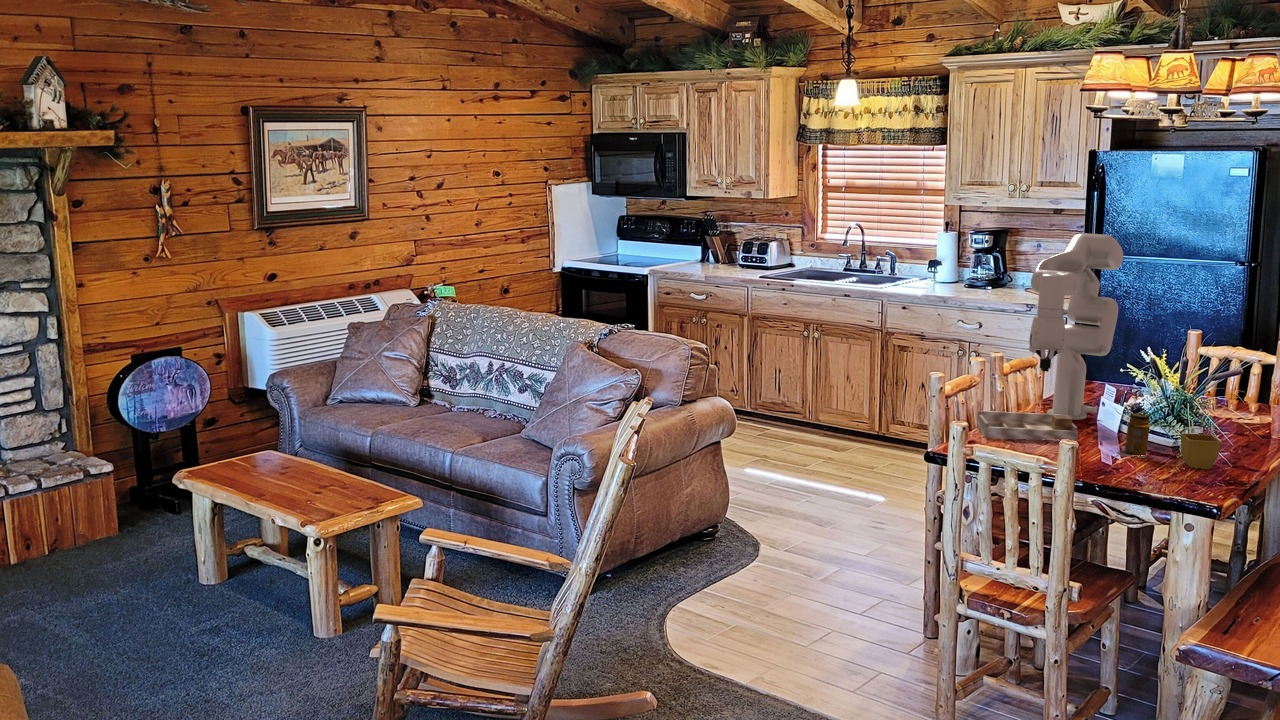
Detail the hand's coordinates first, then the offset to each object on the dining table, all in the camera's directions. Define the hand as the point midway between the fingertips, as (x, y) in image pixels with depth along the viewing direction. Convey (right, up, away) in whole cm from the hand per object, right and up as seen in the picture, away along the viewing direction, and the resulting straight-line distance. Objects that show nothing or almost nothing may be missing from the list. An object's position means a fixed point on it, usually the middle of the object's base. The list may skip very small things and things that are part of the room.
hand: (1044, 370), depth 355 cm
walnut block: (+6, -19, +2) cm, 20 cm away
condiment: (+21, -25, -15) cm, 36 cm away
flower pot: (+34, -28, -28) cm, 52 cm away
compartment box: (-5, -20, +4) cm, 21 cm away
